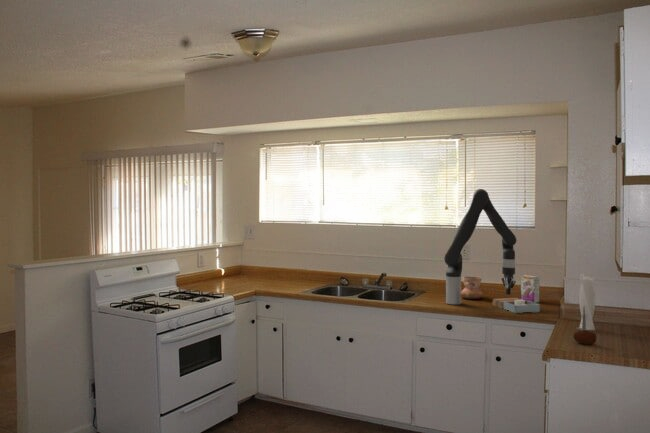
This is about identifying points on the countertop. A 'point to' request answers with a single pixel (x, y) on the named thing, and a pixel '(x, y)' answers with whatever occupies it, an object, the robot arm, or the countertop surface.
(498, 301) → the board
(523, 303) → the tile
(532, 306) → the tray
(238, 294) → the countertop surface
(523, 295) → the candy bar box
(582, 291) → the white statue
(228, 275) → the countertop surface
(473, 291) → the ceramic jug
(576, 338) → the potato
